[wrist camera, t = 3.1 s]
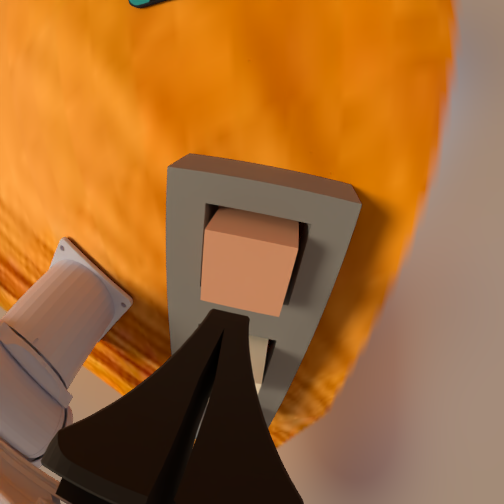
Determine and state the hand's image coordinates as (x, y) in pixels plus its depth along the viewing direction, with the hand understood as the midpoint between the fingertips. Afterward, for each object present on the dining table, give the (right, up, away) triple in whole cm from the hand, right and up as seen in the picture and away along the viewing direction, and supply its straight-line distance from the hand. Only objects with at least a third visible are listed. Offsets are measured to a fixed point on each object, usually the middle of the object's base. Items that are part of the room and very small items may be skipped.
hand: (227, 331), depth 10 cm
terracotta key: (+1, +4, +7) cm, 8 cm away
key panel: (0, -3, +11) cm, 11 cm away
